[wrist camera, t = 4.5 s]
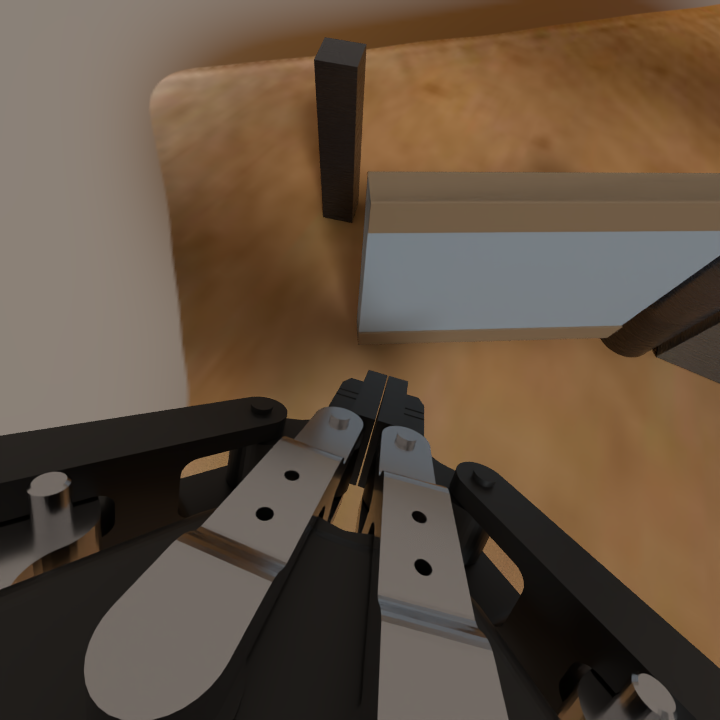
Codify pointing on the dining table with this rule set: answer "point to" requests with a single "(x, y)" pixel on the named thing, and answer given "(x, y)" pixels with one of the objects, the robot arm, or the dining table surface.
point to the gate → (527, 252)
